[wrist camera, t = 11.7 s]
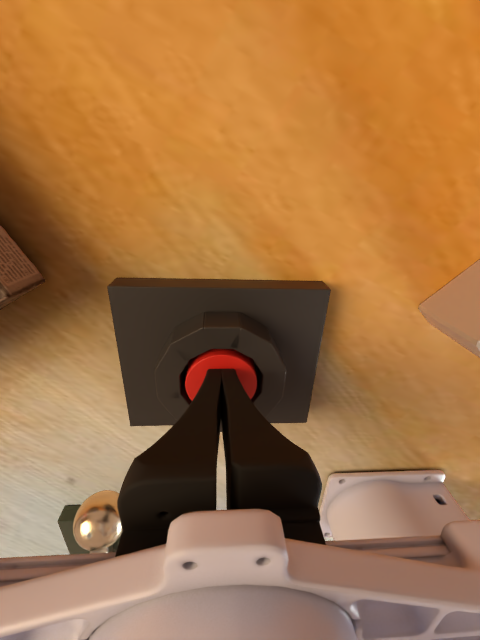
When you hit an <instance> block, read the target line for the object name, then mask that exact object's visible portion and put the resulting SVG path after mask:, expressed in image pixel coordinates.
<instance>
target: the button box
mask: <svg viewBox="0 0 480 640" xmlns="http://www.w3.org/2000/svg"><path fill="white" fill-rule="evenodd" d="M330 291H331V290H330V289H329V288H328V287H327V286H326V285H325V284H324V283H323V282H322V281H278V280H219V279H160V278H116V279H115V280H114V281H113V282H112V283H111V284H109V285H108V293H109V299H110V305H111V311H112V317H113V323H114V329H115V335H116V341H117V347H118V353H119V359H120V365H121V371H122V377H123V383H124V389H125V396H126V402H127V408H128V414H129V420H130V426H159V425H174V424H175V423H176V422H177V421H178V420H179V419H180V417H181V416H182V415H183V414H184V412H185V411H186V410H187V408H188V407H189V405H190V404H191V402H192V400H191V399H190V398H189V396H188V394H187V391H186V387H185V381H186V375H187V369H188V363H189V360H190V359H192V358H194V357H196V356H198V355H200V354H202V353H204V352H206V351H208V350H210V349H234V350H236V351H238V352H240V353H242V354H244V355H246V356H248V357H250V358H252V359H253V362H254V367H255V372H256V378H257V388H256V391H255V393H254V395H253V397H252V398H251V401H252V402H253V403H254V405H255V406H256V408H257V409H258V410H259V411H260V413H261V414H262V415H263V416H264V417H265V418H266V419H267V421H268V422H269V423H306V422H307V417H308V412H309V406H310V401H311V395H312V390H313V384H314V379H315V373H316V368H317V362H318V357H319V351H320V346H321V340H322V335H323V329H324V324H325V318H326V313H327V307H328V302H329V296H330ZM220 432H222V423H221V424H220Z"/></svg>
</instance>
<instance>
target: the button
mask: <svg viewBox="0 0 480 640" xmlns="http://www.w3.org/2000/svg"><path fill="white" fill-rule="evenodd" d="M208 369H235V370H236V373H237V376H238V378H239V380H240V382H241V384H242V386H243V388H244V390H245V391H246V393H247V395H248V396H249V398H250V399H251V398H252V397H253V395H254V393H255V391H256V388H257V378H256V372H255V367H254V362H253V359H252V358H250V357H248V356H246V355H244V354H242V353H240V352H238V351H236V350H234V349H210V350H208V351H206V352H204V353H202V354H200V355H198V356H196V357H194V358H192V359H190V360H189V363H188V369H187V375H186V381H185V387H186V391H187V394H188V396H189V398H190V399H191V400H192V401H193V399H194V397H195V396H196V394H197V392H198V390H199V389H200V387H201V385H202V383H203V381H204V378H205V376H206V372H207V370H208Z"/></svg>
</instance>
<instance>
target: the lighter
mask: <svg viewBox="0 0 480 640" xmlns="http://www.w3.org/2000/svg"><path fill="white" fill-rule="evenodd" d="M418 309H419V310H420V312H421V313H422V314H423V316H424V317H425V318H426V320H427V321H428V322H429V323H430V324H431V325H433V326H434V327H435V328H437V329H438V330H440V331H441V332H443V333H444V334H446V335H447V336H449V337H450V338H452V339H453V340H455V341H456V342H457V343H459V344H460V345H462V346H463V347H465V348H466V349H468V350H469V351H471V352H472V353H474V354H475V355H477V356H478V357H479V358H480V259H479V260H478V261H477V262H475V263H474V264H473V265H471V266H470V267H469V268H468V269H466V270H465V271H464V272H462V273H461V274H460V275H458V276H457V277H456V278H454V279H453V280H452V281H450V282H449V283H448V284H446V285H445V286H444V287H442V288H441V289H440V290H439V291H437V292H436V293H435V294H433V295H432V296H431V297H429V298H428V299H427V300H425V301H424V302H423V303H421V304H420V305H419V308H418Z"/></svg>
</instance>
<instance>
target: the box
mask: <svg viewBox="0 0 480 640" xmlns="http://www.w3.org/2000/svg"><path fill="white" fill-rule="evenodd" d="M44 282H45V279H44V278H43V277H42V275H41V273H40V272H39V271H38V270H37V268H36V266H35V265H34V264H33V263H31V261H30V260H29V259H28V258H27V256H26V255H25V254H23V252H22V250H21V249H20V248H19V247H18V246H17V244H16V242H14V240H13V239H11V238H10V237H9V235H8V234H7V232H6V231H5V230H4V229H3V227H2V226H1V225H0V309H2V308H3V307H5V306H6V305H8V304H9V303H11V302H13V301H15V300H16V299H18V298H19V297H20V296H22V295H24V294H26V293H28V292H29V291H30V290H33V289H35V288H37V287H38V286H39V285H40V284H43V283H44Z"/></svg>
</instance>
